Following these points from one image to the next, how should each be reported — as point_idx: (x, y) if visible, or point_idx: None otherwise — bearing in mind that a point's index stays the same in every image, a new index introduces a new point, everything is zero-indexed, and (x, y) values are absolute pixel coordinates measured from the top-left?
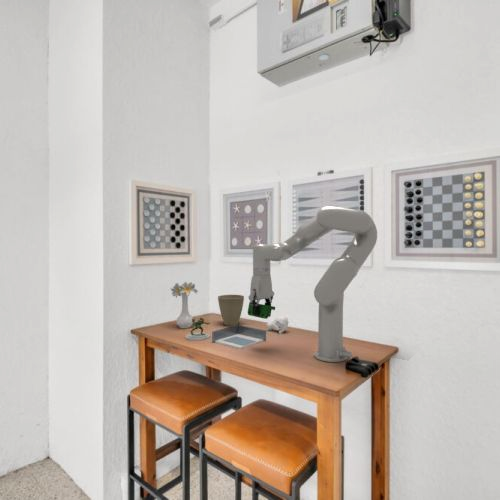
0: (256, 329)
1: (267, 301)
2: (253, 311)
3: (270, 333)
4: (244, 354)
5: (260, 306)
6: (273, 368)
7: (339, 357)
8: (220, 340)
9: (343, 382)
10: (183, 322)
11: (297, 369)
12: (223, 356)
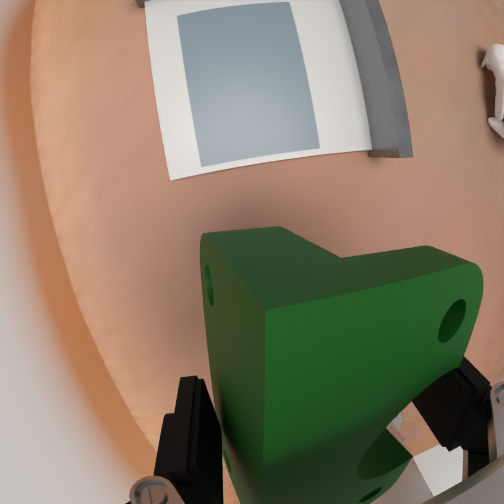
0: (389, 91)
1: (476, 433)
2: (164, 427)
3: (466, 89)
4: (140, 261)
5: (249, 500)
6: (154, 418)
7: None
8: (170, 9)
9: (235, 500)
10: None
11: None
12: (55, 224)
